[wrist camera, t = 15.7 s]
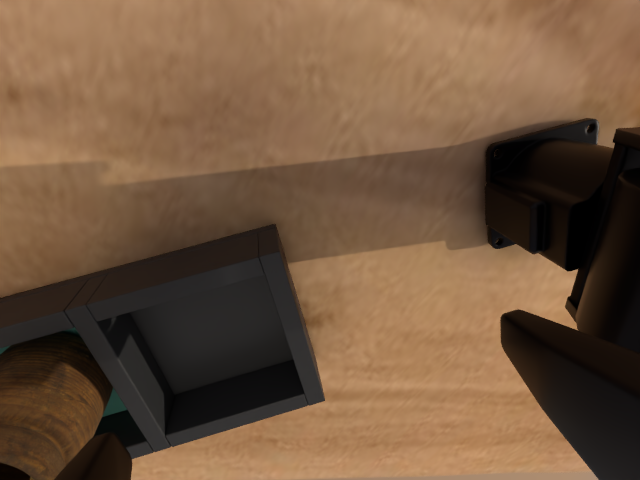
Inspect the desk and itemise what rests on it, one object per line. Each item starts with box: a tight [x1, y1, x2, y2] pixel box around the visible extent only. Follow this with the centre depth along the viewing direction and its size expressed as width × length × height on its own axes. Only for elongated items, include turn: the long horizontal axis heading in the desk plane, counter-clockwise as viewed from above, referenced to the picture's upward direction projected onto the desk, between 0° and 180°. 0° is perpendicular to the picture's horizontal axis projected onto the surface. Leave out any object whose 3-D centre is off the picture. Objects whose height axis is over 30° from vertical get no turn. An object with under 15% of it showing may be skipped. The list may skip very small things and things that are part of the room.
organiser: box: [0, 224, 325, 459], centre depth 21 cm, size 19×10×4 cm, turn 103°
